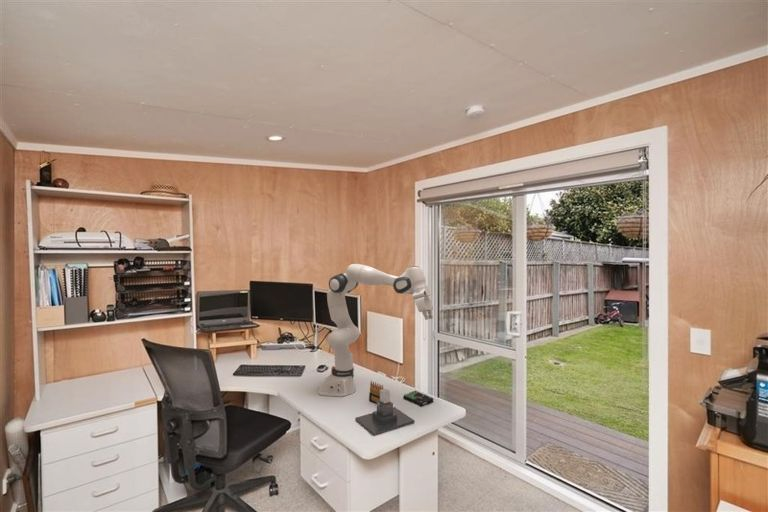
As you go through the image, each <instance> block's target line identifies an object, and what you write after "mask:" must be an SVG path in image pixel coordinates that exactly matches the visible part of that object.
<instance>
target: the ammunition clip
mask: <svg viewBox="0 0 768 512" xmlns="http://www.w3.org/2000/svg"><path fill="white" fill-rule="evenodd" d="M382 389H384V384H382V385H381V383H379V382H376V381H372V380H370V384H369V393H368V401H369V403H372V404H375V405H377V401H380V390H382Z"/></svg>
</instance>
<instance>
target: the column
mask: <svg viewBox="0 0 768 512" xmlns="http://www.w3.org/2000/svg"><path fill="white" fill-rule="evenodd" d="M390 400H391V390H390V389H388V388H383V389H382V390H380V403H381V404H383V405H386V404H389V403H390V402H391V401H390Z"/></svg>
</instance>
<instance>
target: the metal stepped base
mask: <svg viewBox="0 0 768 512" xmlns="http://www.w3.org/2000/svg"><path fill="white" fill-rule="evenodd" d="M354 419H355V422H357V423H358V425H360V427H362V428H363V427H364V428H363V429H365V430H366V431H367V432H368V433H369V434H370V435H371V436H372V437H375V436H379V435H382V434H384V433H385V434H386V433H388V432H391V431H394V430H397V429H400V428H404V427H406V426H411V425H413V424H415V419H413V418H412V417H410V416H409V415H407V414H406V413H404V411H401V410H400V409H399V408H397V407H395V406H394V403H393V402H391V401H390V403H389V404H386V405H383V404H381V403H380V401H377V404H376V410H375V411H372V412H371V413H367V414H364V415H361V416H356V417H355V418H354Z"/></svg>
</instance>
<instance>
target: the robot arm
mask: <svg viewBox="0 0 768 512" xmlns="http://www.w3.org/2000/svg"><path fill="white" fill-rule="evenodd" d="M359 284H362V285H367V286H378V285H382V286H383V285H385V286H389V287H393V289H394V292H395V293H397V294H399V295H404V294H405V295H406V294H408V295H411V296H412V300H414V303H415V305H416V309H417V311H418V312H419V313H421V314H422V316H423V317H424V320H426V321H427V320H431V319H433V318H434V317H433V312H432V310H434V307H433V304H432V301H431V298H430V297H429V296H431V292H430V290H429V287H428V285H427V283H426V277H425V274H424V272H423V270H422V268H421V267H420V266H416V265H413V266H409V267H407V268H406V269H405V270H404V272H403V273H402V274H401V275H399V276H397V275H393V274H388V273H386V272H384V271H382V270H379V269H377V268H374V267H372V266H370V265H366V264H362V263H361V264H360V263H352V264H349V265H348V266H347V267H346V271H345V272H344V273H343V272H341V273H338V274H335V275H334V276H332V277H331V278H330V279H329V280H328V287H329V289H328V290H327V292H326V299H327V301H326V302H327V307H328V311H329V315H330V320H331V321H332V322H334V324H335V325H336V327H337V329H334V330H333V331H332V332H330V333H329V334H328V335H327V344H328V346H329V347H330V348H332V351H333V354H334V356H333V357H334V366H332V367H331V374H329V375H328V376H326V377H325V378H324V380H323V381H322V385H321V386H320V387H319V388H318V391H317V393H318V395H319V396H325V397H326V396H327V397H339V398H340V397H343V398H344V397H346V396H348V395H352V394H355V392H357V391H356V386H355V381H354V380H355V379H354V376H355V370H354V368H355V367H354V355H353V353H352V352H351V351H350V348H349V345H351V344H352V343H354V342H357V341H356V340H358V338H359V337H360V334H361V333H360V329H359V328H358V326H356V325H355V324H354V322H353V321H352V319H351V317H350V314H349V310H348V306H347V301H346V293H347V294H349V293H350V292H352V291H354V290H355V289H356V288H357V287H358V286H359Z"/></svg>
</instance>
